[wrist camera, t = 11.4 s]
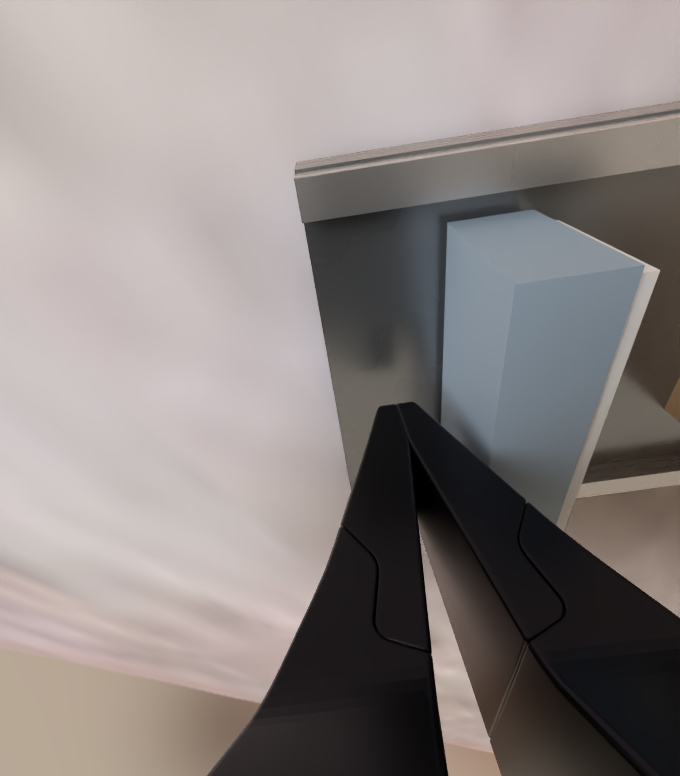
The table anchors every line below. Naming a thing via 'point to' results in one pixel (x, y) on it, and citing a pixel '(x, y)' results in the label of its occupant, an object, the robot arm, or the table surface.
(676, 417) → the block
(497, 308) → the block
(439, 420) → the base
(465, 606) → the robot arm
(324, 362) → the table surface
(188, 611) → the table surface
